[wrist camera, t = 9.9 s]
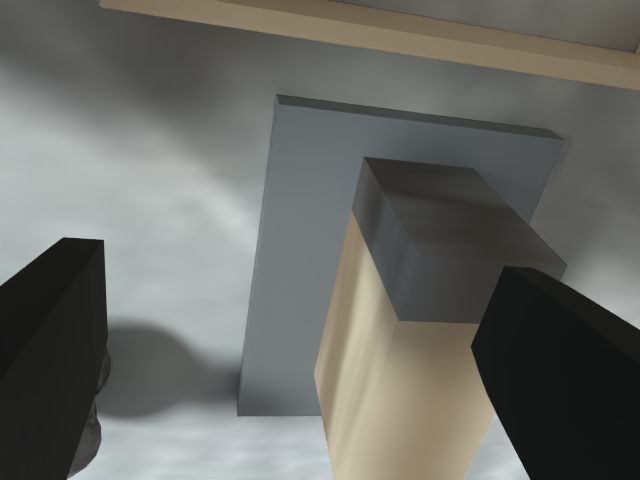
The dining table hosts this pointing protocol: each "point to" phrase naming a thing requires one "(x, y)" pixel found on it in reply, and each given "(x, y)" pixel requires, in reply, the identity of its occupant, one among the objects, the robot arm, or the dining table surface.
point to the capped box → (415, 319)
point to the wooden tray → (405, 36)
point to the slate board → (333, 216)
